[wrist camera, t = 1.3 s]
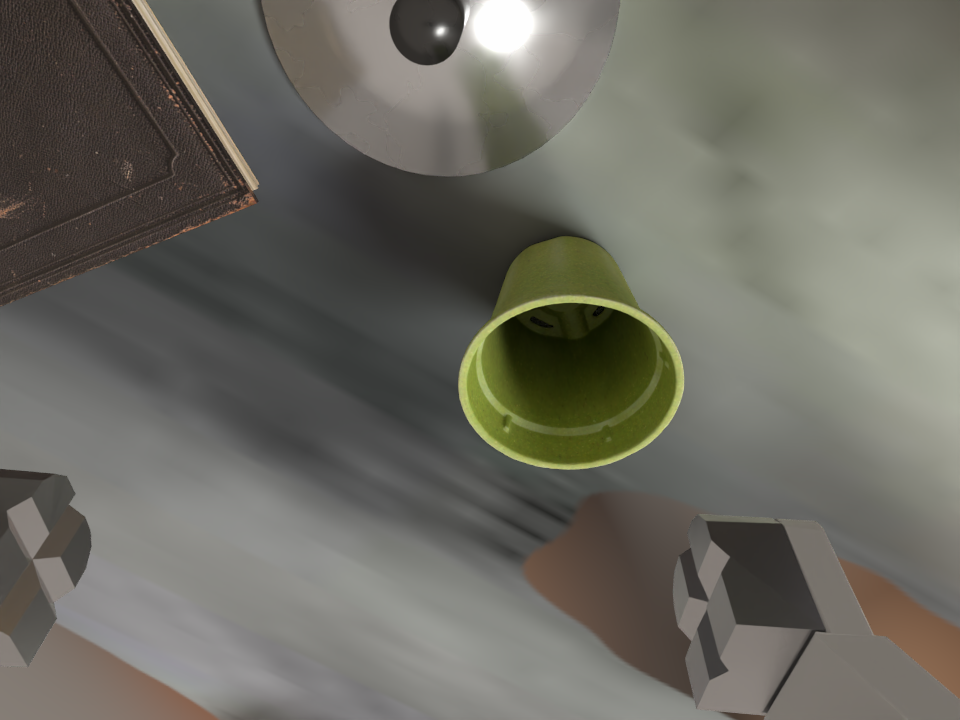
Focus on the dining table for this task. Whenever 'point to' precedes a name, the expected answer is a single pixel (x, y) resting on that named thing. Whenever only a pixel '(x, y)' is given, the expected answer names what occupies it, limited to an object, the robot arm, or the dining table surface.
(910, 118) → the dining table surface
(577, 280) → the plant pot
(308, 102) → the lid
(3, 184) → the hardcover book
